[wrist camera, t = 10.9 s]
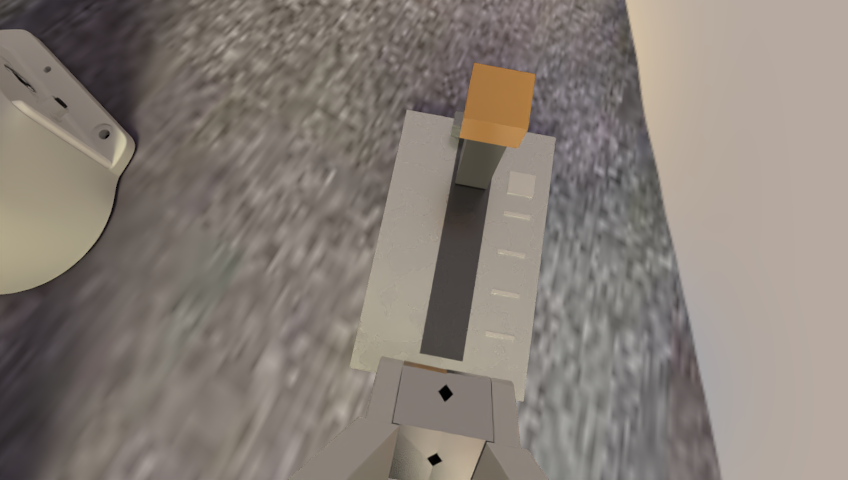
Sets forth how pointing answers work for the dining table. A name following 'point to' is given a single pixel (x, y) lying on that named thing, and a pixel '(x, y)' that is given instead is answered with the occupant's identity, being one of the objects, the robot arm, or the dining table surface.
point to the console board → (457, 257)
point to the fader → (492, 120)
